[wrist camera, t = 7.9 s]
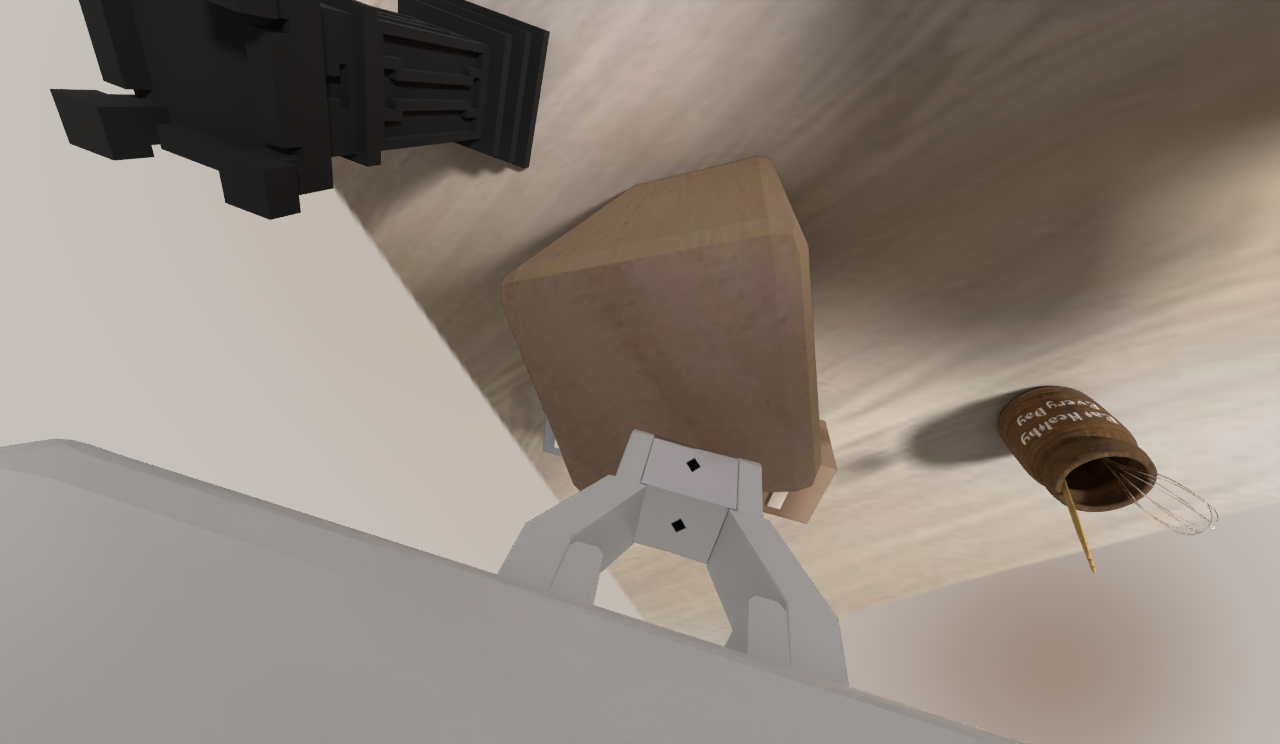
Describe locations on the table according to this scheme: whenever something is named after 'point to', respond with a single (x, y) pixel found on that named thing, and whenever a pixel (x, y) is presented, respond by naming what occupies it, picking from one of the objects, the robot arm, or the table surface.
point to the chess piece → (303, 87)
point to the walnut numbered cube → (805, 500)
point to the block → (677, 326)
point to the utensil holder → (1080, 454)
